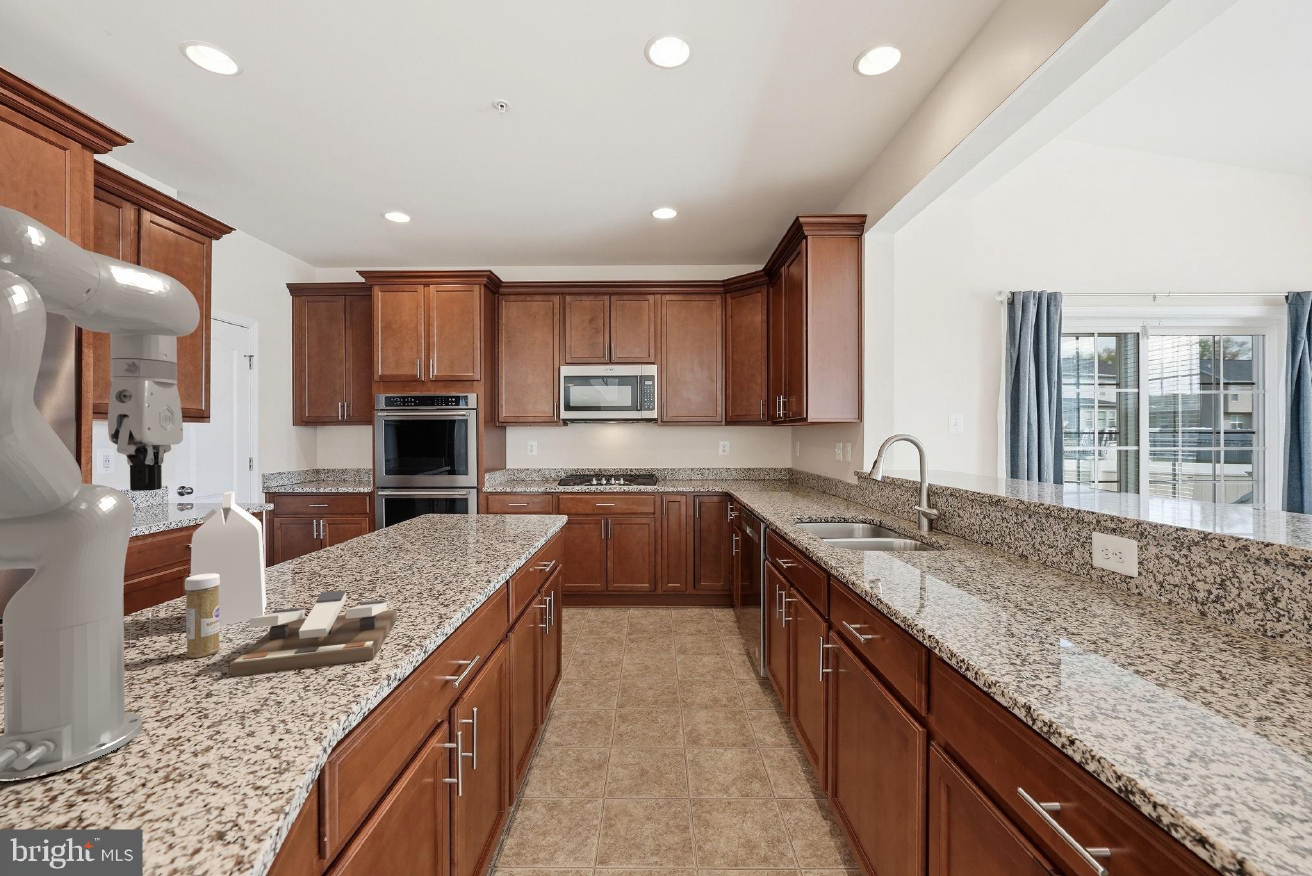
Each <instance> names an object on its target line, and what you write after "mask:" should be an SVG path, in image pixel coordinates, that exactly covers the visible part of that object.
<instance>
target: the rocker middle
mask: <svg viewBox="0 0 1312 876" xmlns="http://www.w3.org/2000/svg"><path fill="white" fill-rule="evenodd" d="M346 601H347V591H346V590H334V591H322V592H321V593H320V594H319V595H318V597H317V599H316V601H315V604H314V606H313V608H312V609H311V611H310V612H309V614H308V616H307V617H306V618H307V619H306V618H305V619H306V620H305V622H304V623H303V625H302V626H301V628H300V630H299V637H300V639H302V638H312V637H322V636H327V635H328V633H329V631H330V629H331V627H332V625H333V623H334V621H335V620H336V618H337V616H338V615H340V613H341V610H342V609H343V606H344V604H345V602H346Z"/></svg>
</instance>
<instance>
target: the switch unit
mask: <svg viewBox="0 0 1312 876" xmlns="http://www.w3.org/2000/svg"><path fill="white" fill-rule="evenodd" d="M306 619H307V617H305V618H301V619H298V620H294V621H291V622H287V623H283V624H280V625H274V626H270V627H269V631H268V632H267V633H266V634H265V635H263V636H262V637H260V639H258V640H257V641H256V642H255V643H253V644H252V645H251V646H250V647H249V648H247V649H246V650H245V651H244V652H243V653H241V654H240V655H239V656H238V657H236V658H235V659H234V660H232V662H230V663H229V677H237V676H245V675H254V674H263V673H272V672H280V671H281V672H282V671H289V670H297V669H306V668H314V667H322V666H323V667H324V666H331V665H341V664H349V663H355V662H356V663H358V662H365V661H374V659H375V657H376V655H377V654H378V652H379V650H380V649H381V647H382V646H383V644H384V642H385V640H386V639H387V637H388V636H389V634H390V632H391V630H392V629H393V627H394V626H395V624H396V622H397V621H398V610H397V609H393V610H391V609H390V610H385V611H383V612H381V613H378V614H376V615H373V616H368V617H358V618H347V619H346V614H338V616H337V618H336V620H335V621H334V623H333V625H332V627H331V629H330V631H329V633H328V635H327V636H322V637H312V638H302V639H300V637H299V630H300V628H301V626H302V625H303V623H304V622H305V620H306Z"/></svg>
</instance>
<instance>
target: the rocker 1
mask: <svg viewBox="0 0 1312 876" xmlns="http://www.w3.org/2000/svg"><path fill="white" fill-rule="evenodd" d="M305 610H306V609H305V607H304V606H302V607H291V608H290V607H289V608H281V609H280V608H278V609H275V610H272V612H271V613H267V614H264V615H262V616H258V617H253V618H250V622H249V629H251V628H262V627H272V626H277V625H280V624H283V623H287V622H291V621H294V620H298V619H305Z"/></svg>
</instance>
